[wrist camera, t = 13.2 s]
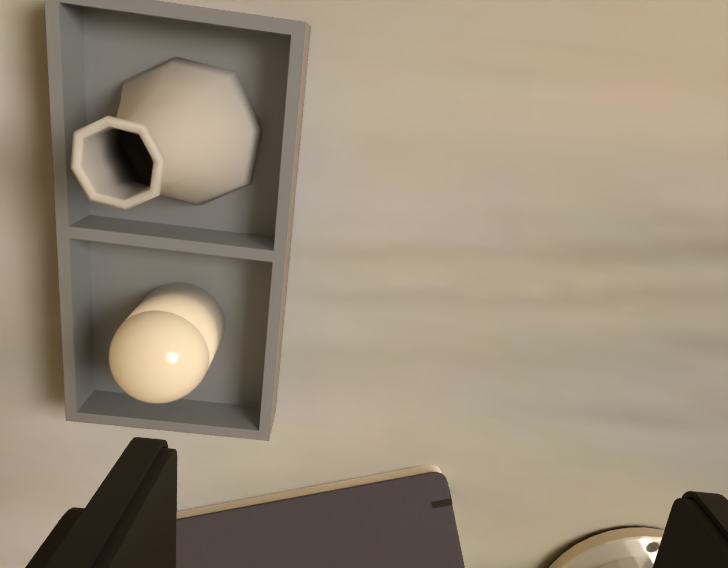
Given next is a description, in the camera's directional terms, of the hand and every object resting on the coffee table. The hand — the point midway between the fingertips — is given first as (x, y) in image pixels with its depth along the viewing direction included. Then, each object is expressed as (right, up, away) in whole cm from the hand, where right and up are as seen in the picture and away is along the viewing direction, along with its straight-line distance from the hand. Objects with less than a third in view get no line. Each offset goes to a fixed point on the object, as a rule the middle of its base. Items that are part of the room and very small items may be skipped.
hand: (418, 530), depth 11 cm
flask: (-10, +12, +19) cm, 25 cm away
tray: (-11, +8, +21) cm, 25 cm away
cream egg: (-11, +2, +22) cm, 25 cm away
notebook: (-5, -14, +30) cm, 34 cm away
